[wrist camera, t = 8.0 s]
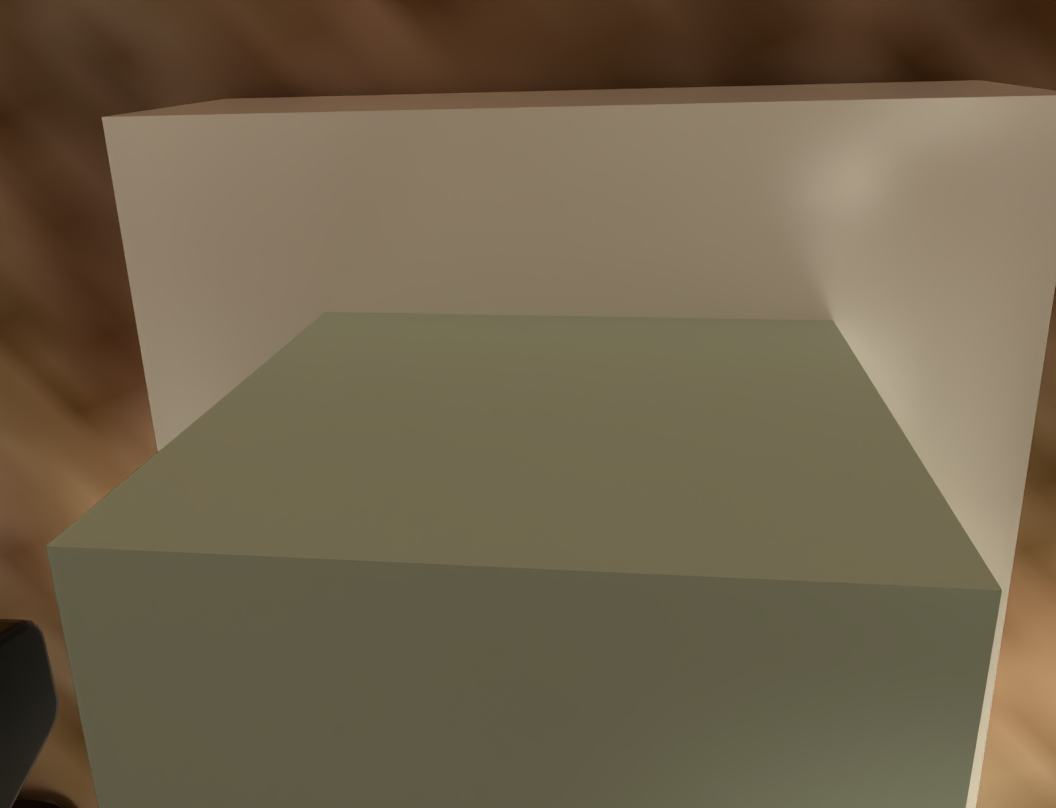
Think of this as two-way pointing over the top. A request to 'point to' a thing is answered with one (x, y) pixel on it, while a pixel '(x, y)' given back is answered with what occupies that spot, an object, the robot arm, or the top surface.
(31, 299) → the top surface
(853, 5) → the top surface
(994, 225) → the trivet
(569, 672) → the cube
